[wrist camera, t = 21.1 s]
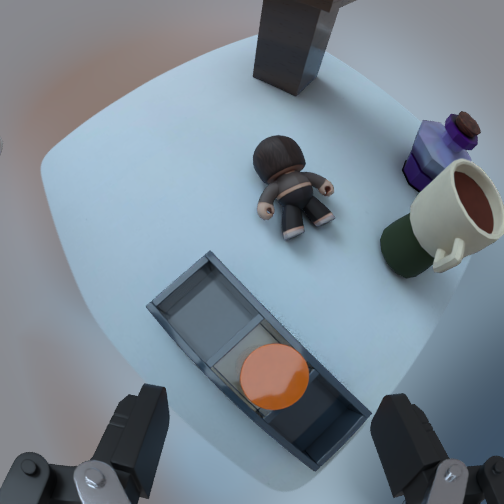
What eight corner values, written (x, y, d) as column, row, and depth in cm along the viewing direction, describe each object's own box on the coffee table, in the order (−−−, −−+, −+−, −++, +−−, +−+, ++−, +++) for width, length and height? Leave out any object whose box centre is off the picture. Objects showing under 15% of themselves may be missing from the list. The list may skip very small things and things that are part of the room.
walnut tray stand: (297, 116, 33) (336, -9, 16) (226, 82, 35) (233, -36, 18) (336, 74, 38) (371, -19, 21) (276, 47, 39) (295, -44, 22)
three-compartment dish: (301, 455, 21) (315, 472, 17) (157, 313, 24) (145, 306, 20) (351, 405, 23) (372, 413, 19) (212, 265, 26) (210, 249, 22)
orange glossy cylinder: (247, 398, 22) (258, 421, 14) (226, 356, 23) (228, 361, 15) (290, 377, 23) (320, 390, 15) (270, 336, 24) (291, 331, 16)
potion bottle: (437, 161, 34) (484, 111, 23) (446, 213, 31) (506, 166, 20) (389, 142, 34) (431, 81, 23) (394, 195, 31) (452, 134, 20)
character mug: (409, 310, 27) (503, 280, 14) (357, 276, 27) (440, 224, 15) (434, 231, 30) (506, 179, 18) (389, 198, 31) (453, 130, 19)
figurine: (334, 220, 31) (295, 141, 31) (357, 207, 26) (310, 118, 26) (266, 249, 29) (227, 162, 29) (280, 240, 24) (232, 138, 25)
